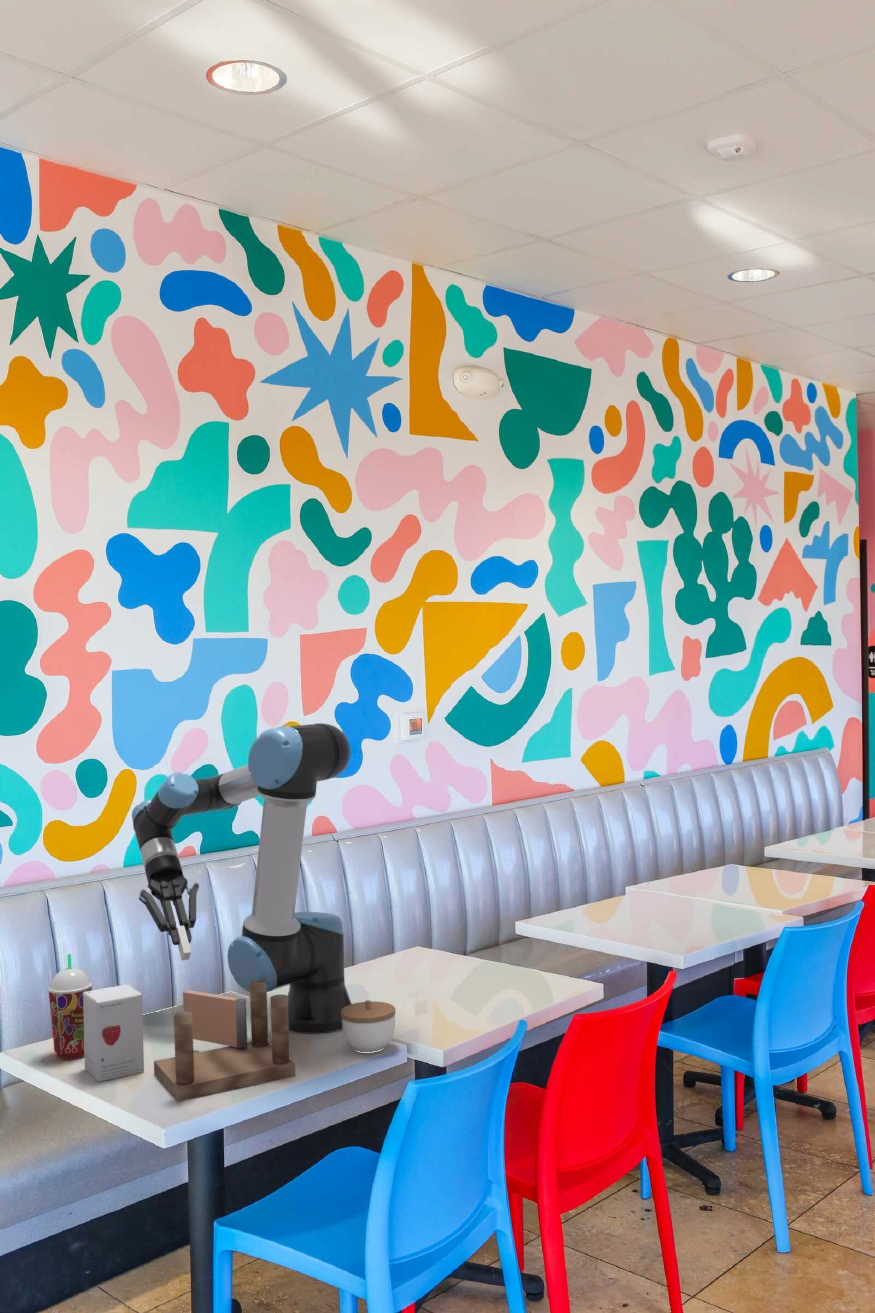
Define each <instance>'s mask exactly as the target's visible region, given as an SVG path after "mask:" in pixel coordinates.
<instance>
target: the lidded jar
mask: <svg viewBox="0 0 875 1313" xmlns="http://www.w3.org/2000/svg"><path fill="white" fill-rule="evenodd" d="M341 1017H342V1032H343V1036H344V1038H345V1040H346V1042H347V1044H348V1045H349V1046H350V1047H351V1048H353V1051H354V1050H356V1051H360V1052H373V1051H378V1050H381V1049H383V1048H384V1047H385V1048H386V1047H387V1046H388V1044H389V1043H390V1042H391V1040H392V1038H393V1035H394V1033H395V1026H396V1025H395V1024H396V1008H395V1006H394V1005H393V1004H391V1003H388V1002H385V1001H371V1000H369V999H367V1000H365V1001H362V1002H356V1003H352V1004H351V1005H348V1006H346V1007H344V1008H343V1009H342V1010H341ZM356 1051H355V1052H356Z"/></svg>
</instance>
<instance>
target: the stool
mask: <svg viewBox="0 0 875 1313" xmlns="http://www.w3.org/2000/svg"><path fill="white" fill-rule="evenodd" d="M267 993H268V991H267V986H266V982H265V981H254V982H251V983H250V992H249V994H250V995H249V998H250V999H249V1001H250V1028H251V1029H250V1031H251V1034H250V1035H251V1041H250V1042H249V1041H248V1042H247V1047H246V1048H237V1047H232V1046H223V1047H220V1048H214V1049H210V1050H203V1051H198V1052H194V1039H193V1026H192V1013H191V1012H184V1011H180V1012H176V1013H173V1032H174V1033H173V1036H174V1056H173V1057H169V1058H162V1059H158V1060H154V1061H153V1065H154V1066H153V1073H154V1075H155V1076H156V1077H157V1079H158V1080H159V1081H160V1082H161V1084H163V1086H164V1087H166V1089H167V1090H168V1092H170V1093H171V1094H172V1095H173V1096H174V1097H175V1099H176V1100H177V1101H178V1102H180V1101H185V1100H189V1099H194V1098H198V1097H204V1096H207V1095H212V1094H217V1093H222V1092H226V1091H227V1092H228V1091H231V1090H235V1089H236V1090H237V1089H240V1088H246V1087H249V1086H254V1085H259V1084H263V1083H268V1082H273V1081H278V1080H281V1078H283V1079H286V1077H287V1078H291V1076H292V1077H296V1062H294V1061H293V1060H292V1059H291V1058H290V1056H291V1055H290V1030H289V1022H288V994H276V995H275V994H274V995H271V996H270V999H269V1001H270V1028H271V1033H270V1034H271V1043H270V1042H269V1022H268V1021H269V1020H268V994H267ZM277 1079H278V1080H277Z"/></svg>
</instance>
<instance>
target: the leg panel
mask: <svg viewBox="0 0 875 1313" xmlns="http://www.w3.org/2000/svg"><path fill="white" fill-rule="evenodd" d="M182 1002H183V1003H182V1006H183V1009H182V1010H183V1012H191V1013H192V1026H193V1040H196V1041H202V1042H206V1043H213V1044H218V1045H223V1046H226V1047H228V1046H232V1047H237V1048H246V1047H247V1043H248V1029H247V1028H248V1027H247V1025H248V1024H247V1022H248V1021H247V999H246V998H241V997H240V998H239V997H233V996H228V995H227V996H226V995H221V994H215V993H209V992H205V991H204V992H202V991H196V990H190V989H188V990H185V991H183V992H182Z"/></svg>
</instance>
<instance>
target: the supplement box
mask: <svg viewBox="0 0 875 1313" xmlns="http://www.w3.org/2000/svg"><path fill="white" fill-rule="evenodd" d="M83 1010H84V1056H83V1057H84V1059H83V1060H84V1069H85V1071H86V1072H88V1074H90V1075H91V1076H92V1077H93V1078H94V1080H96V1081H97V1082H99V1083H100V1082H104V1081H109V1080H113V1079H119V1078H122V1077H127V1076H132V1075H137V1074H141V1073H144V1072H145V1059H144V1058H145V1057H144V1055H145V1054H144V1052H145V1050H144V1025H143V1024H144V1021H143V1020H144V1018H143V1017H144V1015H143V1011H144V1010H143V994H142V993H141V992H140V991H138V990H137V989H135V988H134V987H132V986H131V985H129V984H123V985H122V984H121V985H116V986H111V987H104V988H99V989H94V990H93V989H92V991H87V992H83Z"/></svg>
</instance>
